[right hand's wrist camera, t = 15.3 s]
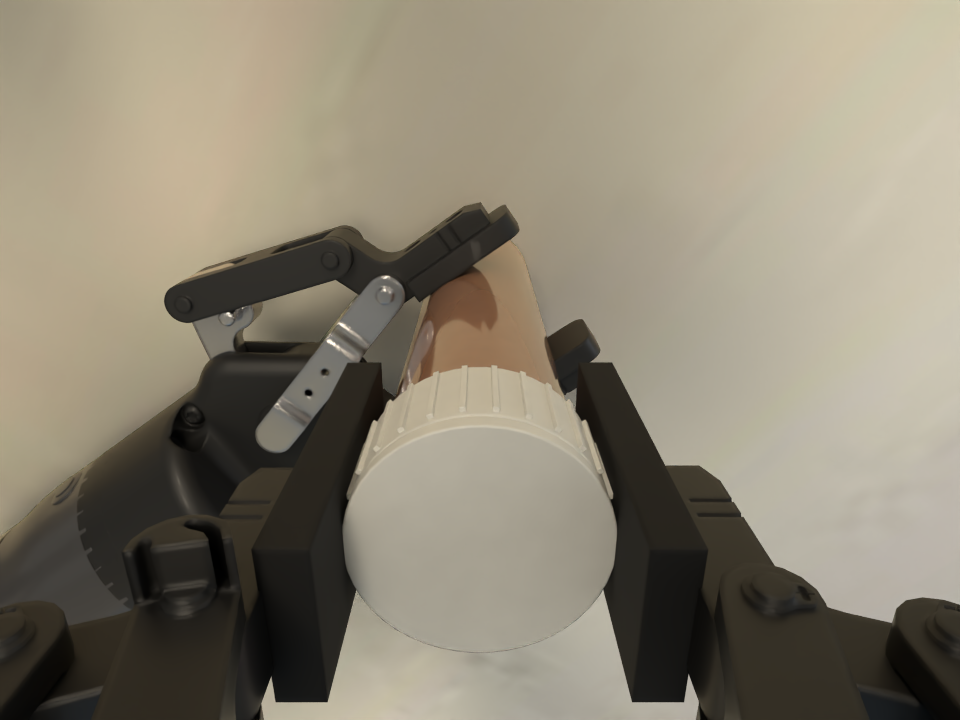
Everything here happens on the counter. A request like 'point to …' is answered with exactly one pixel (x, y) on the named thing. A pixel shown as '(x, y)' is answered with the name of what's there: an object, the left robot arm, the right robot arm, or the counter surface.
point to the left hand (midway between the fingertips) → (551, 280)
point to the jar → (482, 324)
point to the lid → (479, 512)
